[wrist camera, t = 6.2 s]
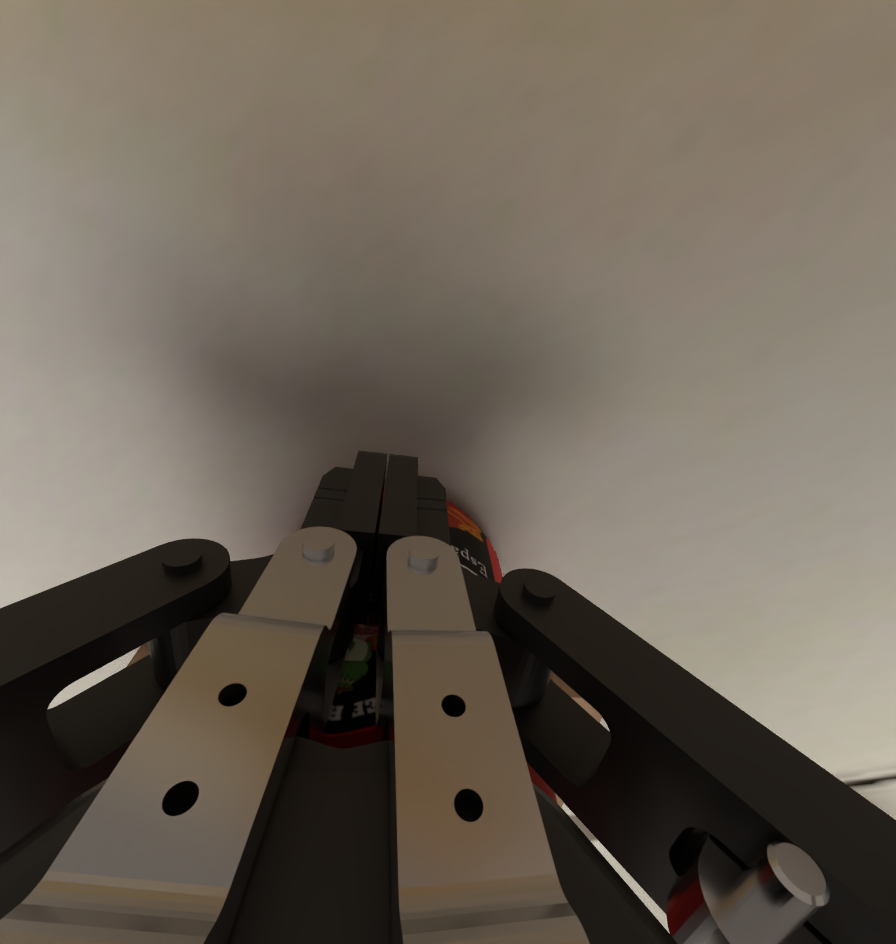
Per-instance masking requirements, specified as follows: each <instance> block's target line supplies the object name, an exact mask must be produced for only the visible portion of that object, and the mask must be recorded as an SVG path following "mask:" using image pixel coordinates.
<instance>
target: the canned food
mask: <svg viewBox="0 0 896 944" xmlns="http://www.w3.org/2000/svg"><path fill="white" fill-rule="evenodd" d="M384 491H385V487H384ZM383 498H384V494H383ZM446 503H447V513H448V522H449V532H450V542H451V547H452V548H453V549H454V550H455V552H456V553H457V555H458V557H459V560H460V565H461V566H462V567H464V568H465V569H466V570H468V571H470V572H471V573H473V574H475V575H478V576H480V577H483V578H486V579H489V580H492V581H496V582H499V583H500V582H501V580H502V573H501V569H500V565H499V561H498V557H497V555H496V553H495V551H494V549H493V547H492V545H491V543H490V541H489V540H488V538H487V537H486V536H485V535H484V534H483V532H482V531H481V530H480V529H479V528H478V527H477V525H476V524H475V523H474V522H473V521H472V520H471V518H470V517H469V516H468V515H467V514H466V513H464V512H463V511H462V510H460V509H459V508H458V507H456V506H455V505H454V504H453V503H451V502H449V501H446ZM382 505H383V504H382ZM300 530H301V529H300ZM376 553H377V551H376ZM375 563H376V558H375ZM374 573H375V565H374ZM374 573H373V580H372V587H371V594H370V601H369V608H368V615H367V622H366V624H356V625H355V631H354V637H353V641H352V643H351V645H350V647H349V656H348V660H347V664H346V668H345V671H344V675H343V679H342V683H341V687H340V690H339V694H338V698H337V702H336V705H335V709H334V713H333V717H332V720H331V724H330V728H329V732H328V736H327V739H326V743H325V745H328V746H331V747H334V748H339V749H347V748H353V747H358V746H362V745H367V744H371V743H374V708H375V654H376V645H377V635H378V626H379V625H369V623H370V613H371V603H372V593H373V583H374ZM526 763H527V762H526ZM527 766H528V770H529V774H530V777H531V781H532V783H534V784H535V785H536V786H537V787H539V788H540V789H541V790H543V791H544V792H545V793H546V794H547V795H548V796H549V797H551V798H552V799H553V800H554V801H555V802H556V803H557V799H556V795H555V792H554V791H553V790H552V789H551V788H550V787H549V786H548V785H547V784H546V782H545V781H544V780H543V779H542V778H541V777H540V776H539V775H538V774H537V773H536V772H535V770H534V769H533V768H532V767H531V766H530V765H529V764H528V763H527ZM557 804H558V803H557Z"/></svg>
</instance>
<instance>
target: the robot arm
mask: <svg viewBox="0 0 896 944" xmlns="http://www.w3.org/2000/svg"><path fill="white" fill-rule="evenodd" d="M386 464H387V454H384V453H375V452H366V451H359V452H358V455H357V458H356V462H355V465H354V469H349V468H340V467H335V468H333V469H332V470H330V471H329V472H328V473H326V474H325V475H323V477H322V479H321V481H320V484H319V486H318V490H317V491H316V494H315V496H314V499H313V501H312V503H311V506H310V508H309V511H308V513H307V515H306V518H305V520H304V523H303V525H302V528H301V530H297V531H295V532H293V533H291V534H290V535H288V536H287V537H286V538H284V539H283V541H282V542H281V543H280V545H279V547H278V548H277V550H276V552H275V553H274V554H272V555H269V556H266V557H261V558H255V559H247V560H239V561H230V556H229V553H228V551H227V549H226V548H225V547H224V546H222V545H221V544H219V543H217V542H214V541H211V540H206V539H182V540H176V541H172V542H168V543H165V544H163V545H160V546H157V547H155V548H152V549H150V550H147V551H145V552H142V553H140V554H137V555H134V556H132V557H129V558H127V559H124V560H122V561H119V562H117V563H114V564H112V565H109V566H107V567H104V568H102V569H99V570H97V571H94V572H91V573H89V574H86V575H84V576H81V577H79V578H76V579H74V580H71V581H69V582H66V583H64V584H61V585H59V586H56V587H53V588H51V589H48V590H46V591H43V592H41V593H38V594H36V595H33V596H31V597H28V598H26V599H23V600H21V601H18V602H15V603H13V604H10V605H8V606H5V607H3V608H0V944H896V820H895V819H893V818H892V817H890V816H889V815H888V814H886V813H885V812H883V811H882V810H881V809H879V808H878V807H876V806H875V805H874V804H872V803H871V802H869V801H868V800H867V799H865V798H864V797H863V796H861V795H860V794H858V793H857V792H856V791H854V790H853V789H851V788H850V787H849V786H847V785H846V784H844V783H843V782H842V781H840V780H839V779H837V778H836V777H835V776H833V775H832V774H830V773H829V772H828V771H826V770H825V769H823V768H822V767H821V766H819V765H818V764H816V763H815V762H814V761H812V760H811V759H809V758H808V757H807V756H805V755H804V754H802V753H801V752H800V751H798V750H797V749H795V748H794V747H793V746H791V745H790V744H788V743H787V742H786V741H784V740H783V739H782V738H780V737H779V736H777V735H776V734H775V733H773V732H772V731H770V730H769V729H768V728H766V727H765V726H763V725H762V724H761V723H759V722H758V721H756V720H755V719H754V718H752V717H751V716H749V715H748V714H747V713H745V712H744V711H742V710H741V709H740V708H738V707H737V706H735V705H734V704H733V703H731V702H730V701H728V700H727V699H726V698H724V697H723V696H721V695H720V694H719V693H717V692H716V691H714V690H713V689H712V688H710V687H709V686H707V685H706V684H705V683H703V682H702V681H700V680H699V679H698V678H696V677H695V676H694V675H692V674H691V673H689V672H688V671H687V670H685V669H684V668H682V667H681V666H680V665H678V664H677V663H675V662H674V661H673V660H671V659H670V658H668V657H667V656H666V655H664V654H663V653H661V652H660V651H659V650H657V649H656V648H654V647H653V646H652V645H650V644H649V643H647V642H646V641H645V640H643V639H642V638H640V637H639V636H638V635H636V634H635V633H633V632H632V631H631V630H629V629H628V628H626V627H625V626H624V625H622V624H621V623H619V622H618V621H617V620H615V619H614V618H613V617H611V616H610V615H608V614H607V613H606V612H604V611H603V610H601V609H600V608H599V607H597V606H596V605H594V604H593V603H592V602H590V601H589V600H587V599H586V598H585V597H583V596H582V595H580V594H579V593H578V592H576V591H575V590H573V589H572V588H571V587H569V586H568V585H566V584H565V583H564V582H562V581H561V580H559V579H558V578H556V577H554V576H552V575H550V574H548V573H546V572H543V571H539V570H535V569H517V570H513V571H510V572H509V573H507V574H506V575H505V576H504V577H503V578H502V580H501V582H500V583H499V582H496V581H492V580H489V579H486V578H483V577H480V576H478V575H475V574H473V573H471V572H470V571H468V570H466V569H465V568H464V567H462V566H461V565H460V560H459V557H458V555H457V553H456V552H455V550H454V549H453V548H452V547H451V542H450V532H449V522H448V513H447V503H446V492H445V488H444V487H443V486H442V484H441V483H440V482H439V481H438V480H437V478H432V477H423V476H418V457H411V456H402V455H393V454H390V456H389V463H388V470H387V477H386V484H385V474H386ZM384 484H385V491H384ZM383 494H384V498H383ZM382 504H383V505H382ZM376 551H377V553H376ZM375 558H376V563H375ZM374 565H375V573H374ZM373 573H374V583H373V593H372V603H371V613H370V623H369V625H379V626H378V635H377V645H376V654H375V708H374V743H371V744H367V745H362V746H358V747H353V748H347V749H339V748H334V747H331V746H328V745H325V743H326V739H327V736H328V732H329V728H330V724H331V720H332V717H333V713H334V709H335V705H336V702H337V698H338V694H339V690H340V687H341V683H342V679H343V675H344V671H345V668H346V664H347V660H348V656H349V647H350V645H351V643H352V641H353V637H354V631H355V625H356V624H366V622H367V615H368V608H369V601H370V594H371V587H372V580H373ZM145 643H148V648H149V652H150V654H149V655H147V656H146V657H144V658H142V659H140V660H138V661H137V662H135V663H133V664H131V665H130V666H128V667H126V668H124V669H122V670H121V671H119V672H117V673H115V674H114V675H112V676H110V677H108V678H106V679H105V680H103V681H101V682H99V683H97V684H96V685H94V686H92V687H90V688H89V689H87V690H85V691H83V692H81V693H80V694H78V695H76V696H74V697H73V698H71V699H69V700H67V701H65V702H64V703H62V704H60V705H58V706H56V707H54V708H51V709H48V706H49V704H50V703H51V701H52V700H53V699H54V697H55V696H56V695H57V694H58V693H59V692H60V691H62V690H63V689H64V688H65V687H67V686H68V685H70V684H71V683H73V682H75V681H76V680H78V679H80V678H82V677H84V676H86V675H88V674H89V673H91V672H93V671H95V670H97V669H99V668H101V667H102V666H104V665H106V664H108V663H110V662H112V661H113V660H115V659H117V658H119V657H121V656H123V655H125V654H126V653H128V652H130V651H132V650H134V649H136V648H138V647H139V646H141V645H143V644H145ZM552 673H555V674H556V675H557V676H558V677H559V678H560V679H561V680H562V681H564V682H565V683H566V684H567V685H568V686H569V687H570V688H571V689H573V690H574V691H575V692H576V693H577V694H578V695H579V696H581V697H582V698H583V699H584V700H585V701H586V702H587V703H588V704H590V705H591V706H592V707H593V708H594V709H595V710H596V711H597V712H598V713H599V714H600V715H601V716H602V717H603V719H604V720H605V722H606V724H607V725H608V728H609V730H610V732H609V731H608V730H607V729H606V728H604V727H603V726H602V725H601V724H600V723H599V722H598V721H597V720H596V719H594V718H593V717H592V716H591V715H590V714H589V713H588V712H587V711H586V710H584V709H583V708H582V707H581V706H580V705H579V704H578V703H577V702H576V701H574V700H573V699H572V698H571V697H570V696H569V695H568V694H567V693H566V692H564V691H563V690H562V689H561V688H560V687H559V686H558V685H557V684H556V683H554V682H553V681H552V680H551V679H550V678H551V675H552ZM47 709H48V710H47ZM526 762H527V763H528V764H529V765H530V766H531V767H532V768H533V769H534V770H535V772H536V773H537V774H538V775H539V776H540V777H541V778H542V779H543V780H544V781H545V782H546V784H547V785H548V786H549V787H550V788H551V789H552V790H553V791H554V792H555V793H556V795H557V796H558V797H559V798H560V799H561V800H562V801H563V802H564V803H565V804H566V805H567V807H568V808H569V809H570V810H571V811H572V812H573V813H574V814H575V815H576V816H577V817H578V819H579V820H580V821H581V822H582V823H583V824H584V825H585V826H586V827H587V828H588V829H589V831H590V832H591V833H592V834H593V835H594V836H595V837H596V838H597V839H598V840H599V841H600V843H601V844H602V845H603V846H604V847H605V848H606V849H607V850H608V851H609V852H610V853H611V855H612V856H613V857H614V858H615V859H616V860H617V861H618V862H619V863H620V864H621V865H622V867H623V868H624V869H625V870H626V871H627V872H628V873H629V874H630V875H631V876H632V877H633V879H634V880H635V881H636V882H637V883H638V884H639V885H640V886H641V887H642V888H643V889H644V891H645V892H646V893H647V894H648V895H649V896H650V897H651V898H652V899H653V900H654V901H655V903H656V904H657V905H658V906H659V907H660V908H661V909H662V910H663V911H664V912H665V913H666V915H667V922H668V928H669V932H670V934H669V933H668V932H667V930H666V929H665V928H664V927H663V926H662V924H661V923H660V922H659V921H658V920H657V919H656V917H655V916H654V915H653V914H652V913H651V912H650V910H649V909H648V908H647V907H646V906H645V905H644V903H643V902H642V901H641V900H640V899H639V898H638V896H637V895H636V894H635V893H634V892H633V891H632V889H631V888H630V887H629V886H628V885H627V884H626V882H625V881H624V880H623V879H622V878H621V877H620V875H619V874H618V873H617V872H616V871H615V870H614V868H613V867H612V866H611V865H610V864H609V863H608V861H607V860H606V859H605V858H604V857H603V856H602V854H601V853H600V852H599V851H598V850H597V849H596V847H595V846H594V845H593V844H592V843H591V842H590V840H589V839H588V838H587V837H586V836H585V835H584V833H583V832H582V831H581V830H580V829H579V828H578V826H577V825H576V824H575V823H574V822H573V821H572V819H571V818H570V817H569V816H568V815H567V814H566V813H565V811H564V810H563V809H562V808H561V807H560V806H559V805H558V804H557V803H556V802H555V801H554V800H553V799H552V798H551V797H549V796H548V795H547V794H546V793H545V792H544V791H543V790H541V789H540V788H539V787H537V786H536V785H535V784H534V783H532V781H531V777H530V774H529V770H528V766H527V763H526Z"/></svg>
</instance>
